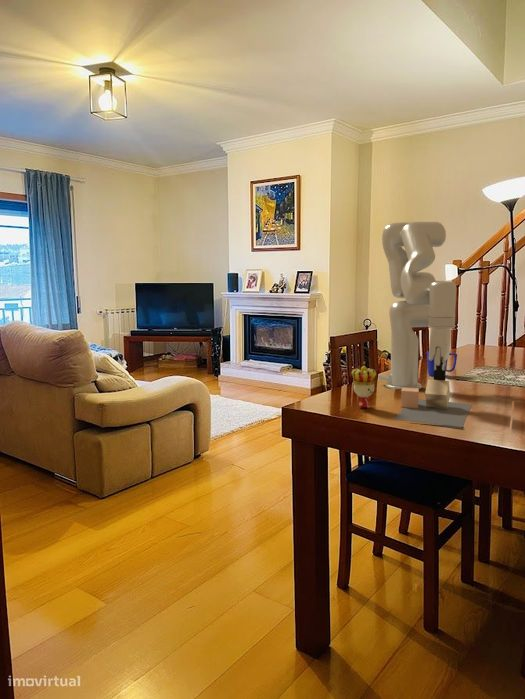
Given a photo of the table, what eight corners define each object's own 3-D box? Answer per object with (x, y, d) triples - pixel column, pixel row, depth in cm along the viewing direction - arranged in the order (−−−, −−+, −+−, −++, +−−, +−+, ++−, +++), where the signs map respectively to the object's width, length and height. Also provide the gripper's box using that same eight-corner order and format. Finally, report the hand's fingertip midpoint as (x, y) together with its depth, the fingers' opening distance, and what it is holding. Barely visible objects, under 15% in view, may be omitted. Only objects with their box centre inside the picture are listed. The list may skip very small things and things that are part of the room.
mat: (392, 421, 142) (393, 419, 141) (412, 400, 166) (412, 398, 166) (462, 429, 133) (462, 427, 133) (471, 406, 158) (472, 404, 158)
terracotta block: (400, 406, 155) (401, 390, 155) (401, 403, 160) (401, 387, 159) (418, 408, 154) (418, 391, 153) (418, 404, 159) (418, 388, 158)
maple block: (426, 407, 155) (425, 393, 151) (429, 393, 159) (428, 379, 155) (447, 409, 152) (446, 395, 148) (449, 394, 156) (449, 380, 152)
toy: (370, 414, 150) (371, 363, 148) (347, 411, 153) (348, 361, 151) (378, 408, 156) (379, 360, 154) (356, 406, 159) (357, 358, 157)
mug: (459, 377, 205) (460, 352, 204) (429, 377, 206) (430, 353, 204) (452, 373, 213) (453, 350, 212) (423, 374, 214) (424, 350, 212)
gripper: (432, 320, 161) (430, 377, 164) (424, 324, 148) (422, 386, 150) (457, 321, 158) (455, 379, 160) (451, 325, 145) (449, 388, 147)
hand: (439, 382), depth 155 cm, fingers closed
